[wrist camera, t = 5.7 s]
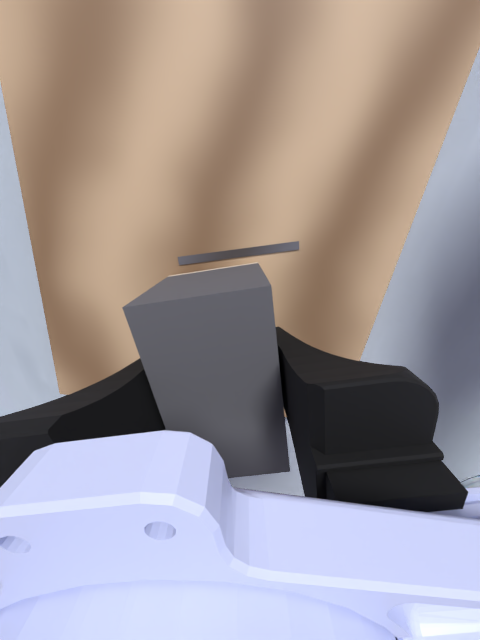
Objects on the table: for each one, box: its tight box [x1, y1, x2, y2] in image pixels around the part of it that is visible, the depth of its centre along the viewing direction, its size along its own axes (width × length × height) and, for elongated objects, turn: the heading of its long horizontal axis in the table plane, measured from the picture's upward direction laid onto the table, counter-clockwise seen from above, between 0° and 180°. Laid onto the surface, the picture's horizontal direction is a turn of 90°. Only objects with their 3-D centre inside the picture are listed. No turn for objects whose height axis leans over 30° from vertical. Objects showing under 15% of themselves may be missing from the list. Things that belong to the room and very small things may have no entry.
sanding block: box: [122, 262, 290, 478], centre depth 11 cm, size 4×8×5 cm, turn 9°
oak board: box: [0, 0, 480, 417], centre depth 11 cm, size 18×22×1 cm
